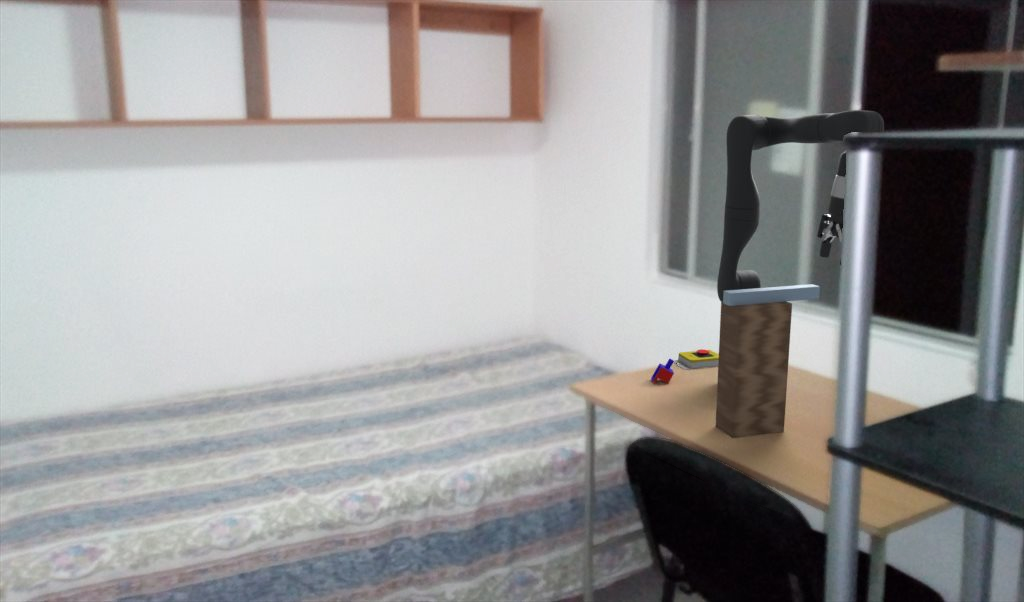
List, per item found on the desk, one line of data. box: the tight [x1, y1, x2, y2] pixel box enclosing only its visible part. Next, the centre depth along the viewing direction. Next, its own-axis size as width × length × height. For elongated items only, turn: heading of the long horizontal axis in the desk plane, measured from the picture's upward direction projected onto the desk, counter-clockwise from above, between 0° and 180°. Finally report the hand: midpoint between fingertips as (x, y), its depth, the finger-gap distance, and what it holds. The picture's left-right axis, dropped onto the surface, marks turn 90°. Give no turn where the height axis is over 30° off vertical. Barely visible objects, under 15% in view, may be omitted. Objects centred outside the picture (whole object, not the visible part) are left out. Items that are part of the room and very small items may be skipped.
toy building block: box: [650, 357, 675, 384], centre depth 233 cm, size 4×4×8 cm
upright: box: [715, 301, 793, 439], centre depth 194 cm, size 14×8×32 cm, turn 105°
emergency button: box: [673, 348, 719, 370], centre depth 250 cm, size 9×4×15 cm
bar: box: [723, 283, 821, 306], centre depth 191 cm, size 24×3×3 cm, turn 105°
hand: (834, 261), depth 197 cm, fingers open, 8 cm apart
